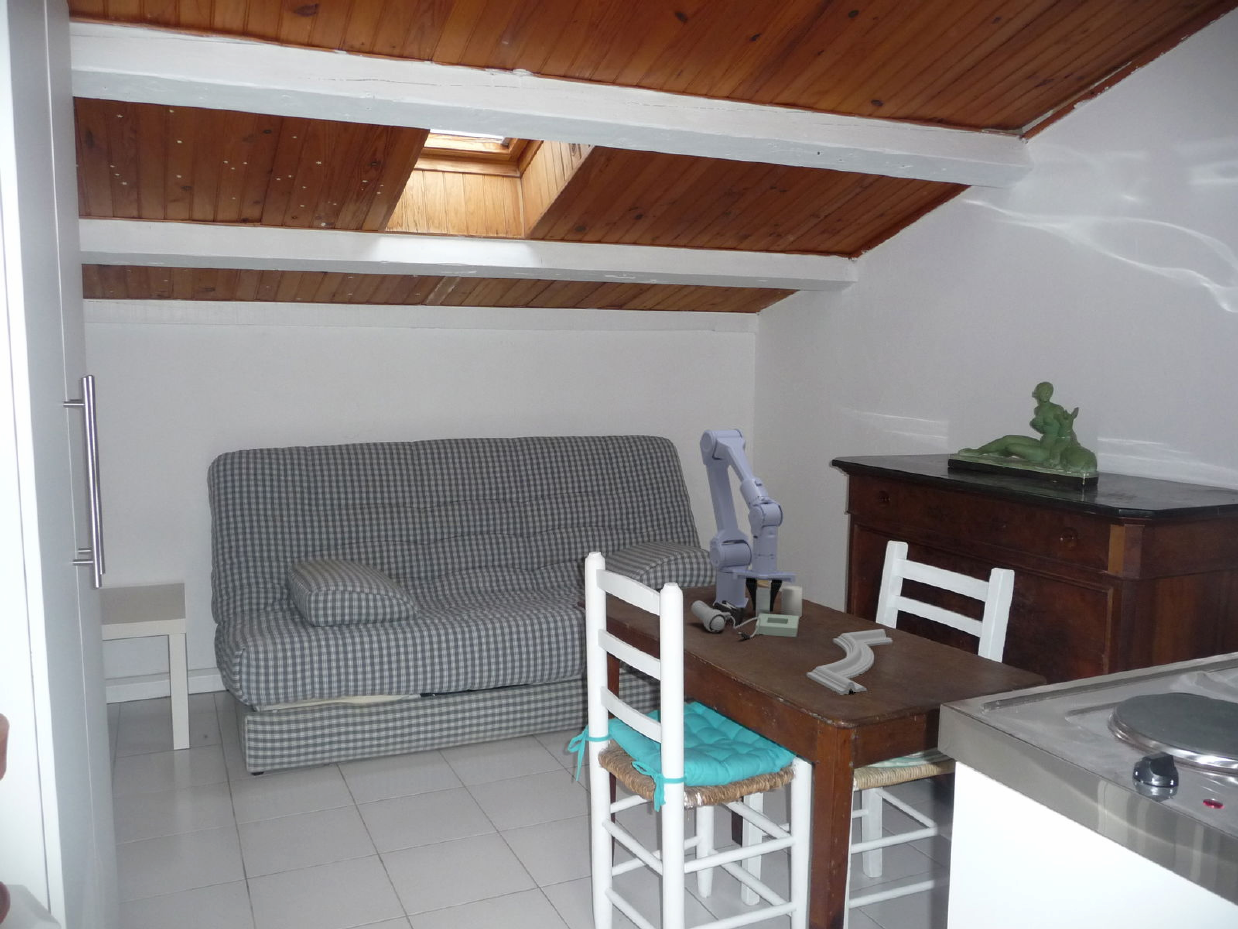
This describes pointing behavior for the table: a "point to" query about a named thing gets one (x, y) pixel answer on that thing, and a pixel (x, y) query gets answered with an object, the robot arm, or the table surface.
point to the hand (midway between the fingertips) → (763, 610)
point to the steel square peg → (763, 601)
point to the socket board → (778, 625)
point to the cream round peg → (791, 600)
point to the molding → (850, 661)
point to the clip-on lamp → (721, 616)
